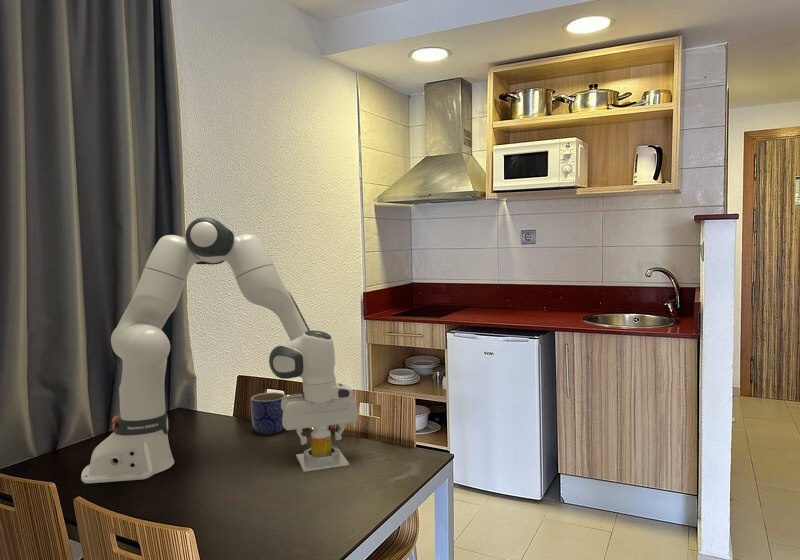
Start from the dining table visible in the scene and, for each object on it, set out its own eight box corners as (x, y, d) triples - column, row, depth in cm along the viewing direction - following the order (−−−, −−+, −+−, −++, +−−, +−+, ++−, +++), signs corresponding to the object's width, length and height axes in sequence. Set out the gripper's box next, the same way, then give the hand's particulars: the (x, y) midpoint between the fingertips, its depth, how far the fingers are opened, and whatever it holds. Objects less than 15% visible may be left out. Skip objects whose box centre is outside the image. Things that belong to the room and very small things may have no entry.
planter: (294, 429, 192) (293, 394, 192) (270, 439, 183) (268, 402, 182) (269, 424, 198) (268, 390, 197) (244, 433, 189) (243, 398, 188)
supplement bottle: (330, 461, 161) (329, 426, 160) (310, 462, 161) (308, 426, 161) (333, 454, 166) (331, 420, 166) (313, 454, 167) (312, 420, 166)
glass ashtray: (303, 471, 156) (303, 462, 156) (296, 456, 167) (295, 447, 167) (348, 465, 160) (348, 455, 160) (338, 450, 171) (338, 441, 171)
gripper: (282, 398, 156) (284, 450, 157) (358, 390, 163) (360, 440, 164) (278, 392, 162) (280, 443, 163) (352, 385, 169) (354, 433, 170)
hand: (321, 441), depth 163 cm, fingers open, 8 cm apart
